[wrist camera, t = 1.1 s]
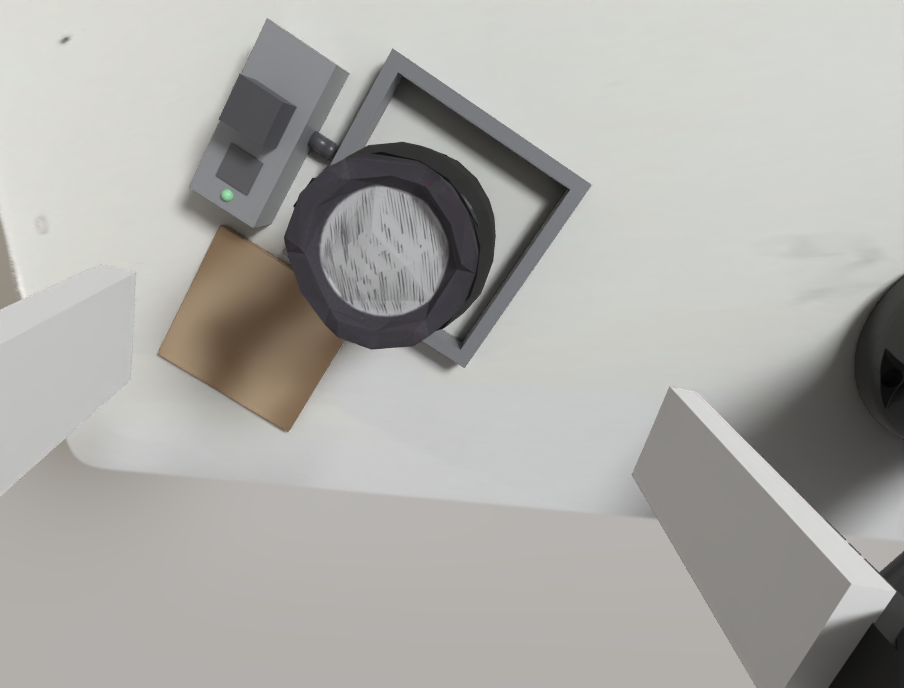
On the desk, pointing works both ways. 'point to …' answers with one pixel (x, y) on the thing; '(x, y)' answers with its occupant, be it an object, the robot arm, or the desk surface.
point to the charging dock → (575, 184)
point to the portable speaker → (391, 244)
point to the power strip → (294, 148)
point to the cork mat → (251, 331)
